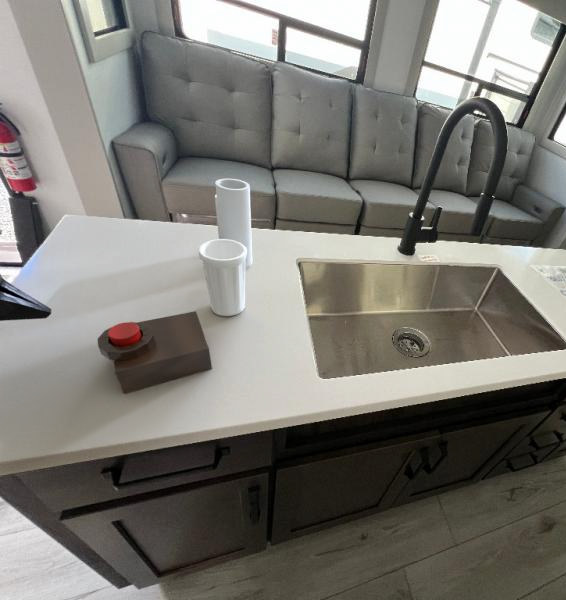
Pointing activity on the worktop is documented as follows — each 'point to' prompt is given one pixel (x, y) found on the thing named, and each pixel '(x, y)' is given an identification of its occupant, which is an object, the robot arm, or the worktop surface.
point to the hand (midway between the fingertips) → (49, 314)
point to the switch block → (159, 352)
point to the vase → (234, 213)
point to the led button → (124, 334)
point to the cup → (225, 275)
